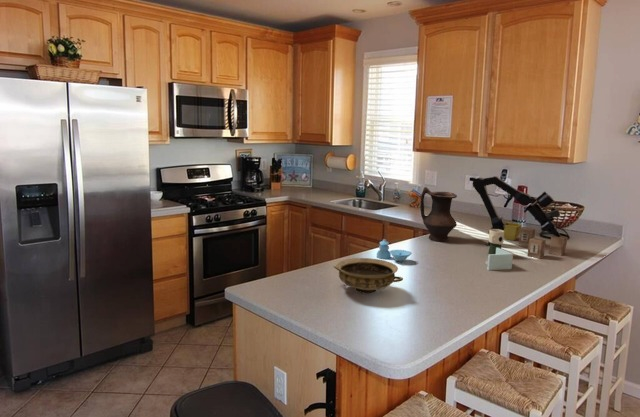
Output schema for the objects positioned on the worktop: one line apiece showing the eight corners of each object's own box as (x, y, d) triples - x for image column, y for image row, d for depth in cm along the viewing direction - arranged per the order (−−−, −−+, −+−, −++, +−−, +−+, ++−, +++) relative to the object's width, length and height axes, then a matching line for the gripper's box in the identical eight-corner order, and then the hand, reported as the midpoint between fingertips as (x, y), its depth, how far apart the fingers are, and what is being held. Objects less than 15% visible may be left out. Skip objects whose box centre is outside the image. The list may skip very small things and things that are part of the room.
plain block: (560, 255, 251) (563, 238, 249) (548, 252, 255) (551, 236, 254) (564, 253, 255) (567, 237, 254) (553, 250, 260) (555, 234, 258)
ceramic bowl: (414, 290, 192) (415, 266, 190) (385, 308, 173) (387, 281, 171) (349, 275, 209) (350, 252, 207) (316, 289, 190) (317, 265, 188)
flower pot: (516, 242, 278) (517, 226, 277) (500, 239, 284) (501, 224, 282) (520, 239, 285) (521, 224, 284) (505, 236, 291) (506, 222, 289)
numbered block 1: (529, 246, 269) (530, 230, 268) (518, 244, 273) (520, 228, 272) (533, 244, 274) (535, 228, 272) (523, 242, 278) (524, 227, 276)
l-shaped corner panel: (496, 262, 237) (497, 247, 235) (511, 269, 225) (513, 254, 224) (474, 263, 234) (475, 248, 233) (488, 271, 222) (489, 255, 221)
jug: (452, 236, 287) (456, 186, 282) (458, 244, 269) (462, 190, 264) (416, 234, 289) (419, 184, 284) (419, 242, 271) (422, 188, 266)
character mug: (497, 258, 242) (500, 233, 239) (483, 256, 246) (485, 230, 244) (505, 254, 250) (507, 230, 248) (491, 252, 254) (494, 227, 252)
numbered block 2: (539, 259, 243) (541, 241, 242) (527, 256, 248) (528, 239, 246) (543, 256, 248) (545, 239, 246) (532, 254, 252) (533, 237, 251)
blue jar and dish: (415, 261, 233) (416, 243, 231) (403, 266, 225) (404, 247, 224) (383, 254, 245) (384, 236, 243) (371, 258, 237) (372, 240, 235)
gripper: (550, 206, 245) (572, 229, 242) (551, 201, 261) (572, 223, 258) (532, 219, 250) (553, 243, 247) (534, 214, 266) (554, 236, 263)
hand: (559, 236), depth 253 cm, fingers closed, pressing on plain block
